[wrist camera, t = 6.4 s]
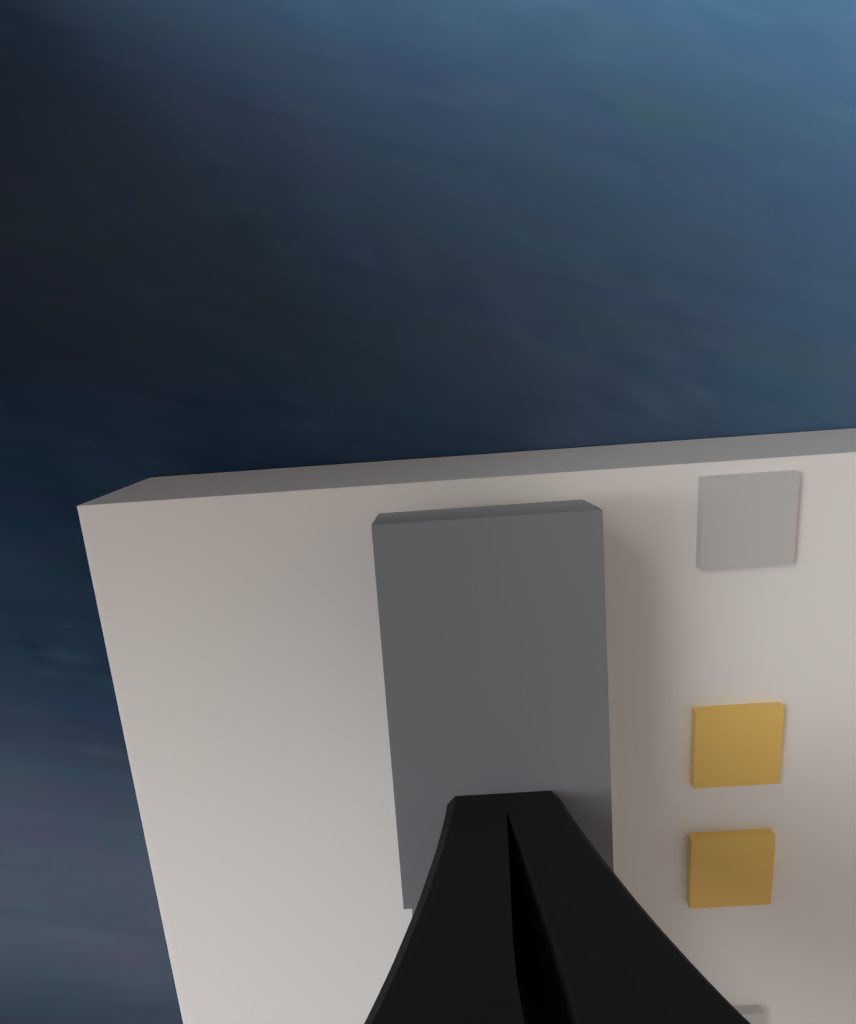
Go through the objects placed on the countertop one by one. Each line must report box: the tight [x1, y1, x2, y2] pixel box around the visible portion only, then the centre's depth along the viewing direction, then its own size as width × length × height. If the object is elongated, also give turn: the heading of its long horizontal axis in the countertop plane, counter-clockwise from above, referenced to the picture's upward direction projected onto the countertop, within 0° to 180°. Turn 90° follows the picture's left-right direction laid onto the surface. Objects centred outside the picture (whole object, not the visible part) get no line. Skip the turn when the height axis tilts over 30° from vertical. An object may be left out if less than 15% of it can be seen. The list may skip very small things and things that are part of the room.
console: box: [77, 428, 856, 1024], centre depth 12 cm, size 12×14×3 cm
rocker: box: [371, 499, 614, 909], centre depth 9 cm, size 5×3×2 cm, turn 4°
